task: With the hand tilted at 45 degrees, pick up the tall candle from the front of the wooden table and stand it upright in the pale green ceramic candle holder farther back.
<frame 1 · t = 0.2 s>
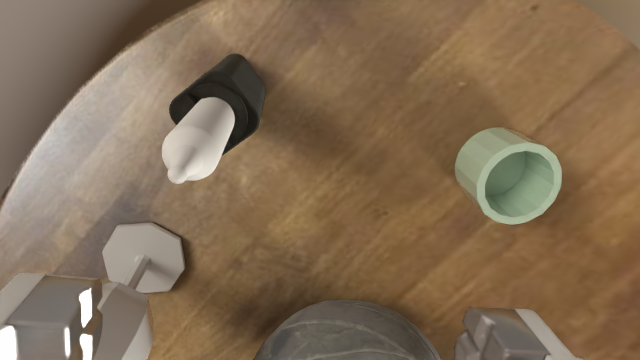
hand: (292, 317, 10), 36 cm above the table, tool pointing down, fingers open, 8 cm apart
bowl: (334, 336, 55), on the table
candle: (233, 86, 44), on the table
holder: (492, 164, 48), on the table
wineglass: (146, 255, 49), on the table
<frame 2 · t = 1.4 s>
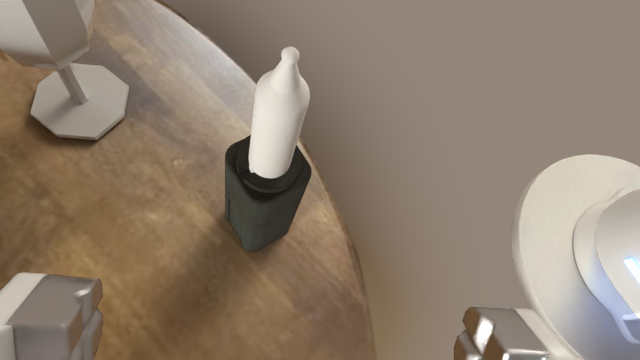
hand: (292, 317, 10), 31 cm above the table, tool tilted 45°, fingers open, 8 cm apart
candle: (257, 220, 44), on the table
wineglass: (83, 104, 45), on the table
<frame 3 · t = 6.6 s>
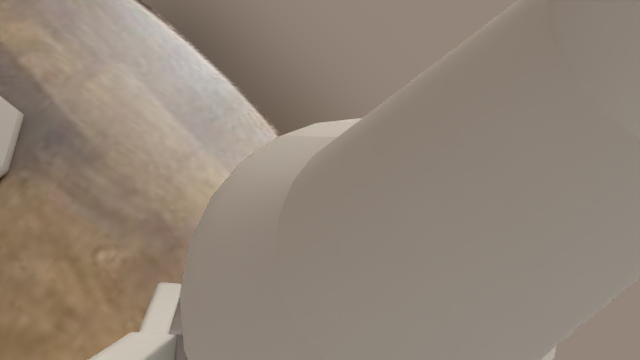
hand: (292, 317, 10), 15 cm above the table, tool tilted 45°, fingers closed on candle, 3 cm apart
when the fingers open (15 cm above the table, at t = 16.0 s): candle stays where it is, resting on holder.
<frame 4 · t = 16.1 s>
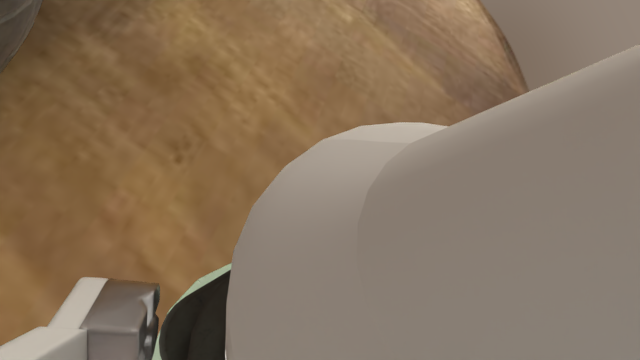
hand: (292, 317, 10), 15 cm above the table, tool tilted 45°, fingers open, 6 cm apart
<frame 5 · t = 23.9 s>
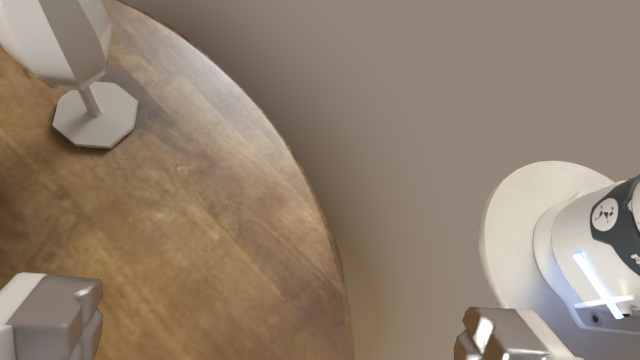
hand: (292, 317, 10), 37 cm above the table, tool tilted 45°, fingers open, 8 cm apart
wineglass: (98, 117, 51), on the table
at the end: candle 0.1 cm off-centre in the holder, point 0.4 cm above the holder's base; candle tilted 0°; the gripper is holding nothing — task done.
